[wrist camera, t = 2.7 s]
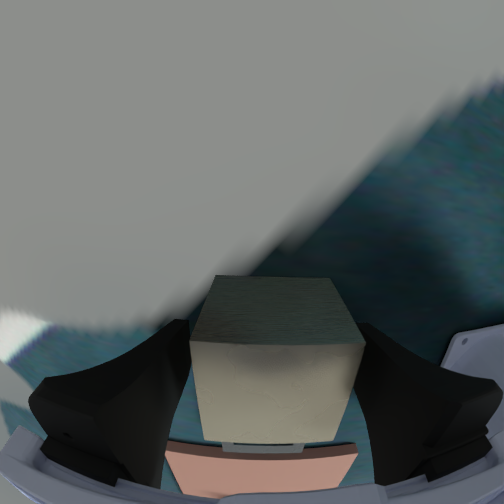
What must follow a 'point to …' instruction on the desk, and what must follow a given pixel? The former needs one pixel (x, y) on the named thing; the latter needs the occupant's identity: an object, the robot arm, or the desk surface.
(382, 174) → the desk surface
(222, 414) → the beige block with handle
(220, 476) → the keeper board
